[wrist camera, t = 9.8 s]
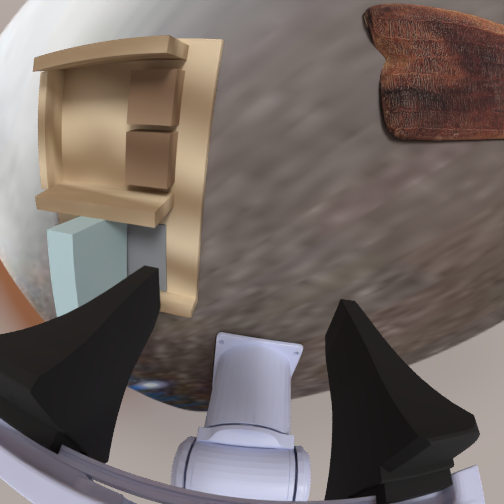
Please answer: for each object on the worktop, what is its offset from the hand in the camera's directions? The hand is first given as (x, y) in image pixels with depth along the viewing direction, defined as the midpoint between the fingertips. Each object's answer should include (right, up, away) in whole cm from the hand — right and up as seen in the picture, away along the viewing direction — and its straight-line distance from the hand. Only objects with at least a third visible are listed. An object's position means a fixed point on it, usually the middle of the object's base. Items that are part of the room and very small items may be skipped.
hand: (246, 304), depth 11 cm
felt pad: (-10, +2, +11) cm, 15 cm away
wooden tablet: (+21, +16, +1) cm, 26 cm away
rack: (-9, +8, +8) cm, 14 cm away
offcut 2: (-6, +8, +7) cm, 12 cm away
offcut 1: (-6, +12, +5) cm, 14 cm away
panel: (-10, +2, +10) cm, 14 cm away
